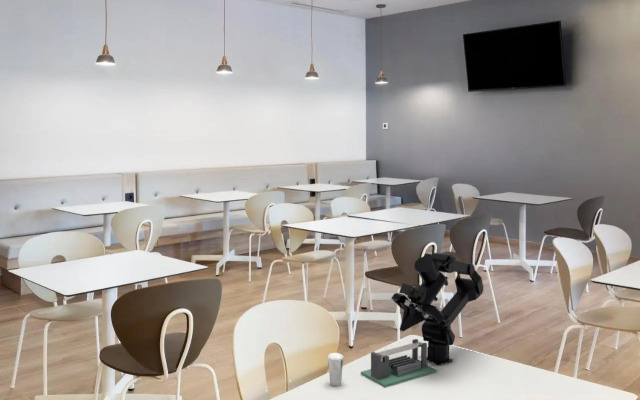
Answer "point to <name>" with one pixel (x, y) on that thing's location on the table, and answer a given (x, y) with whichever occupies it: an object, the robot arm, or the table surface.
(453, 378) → the table surface
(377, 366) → the lug block
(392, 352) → the metal bar
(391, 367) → the heatsink
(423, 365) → the bracket
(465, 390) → the table surface
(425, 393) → the table surface
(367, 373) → the board
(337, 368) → the milkshake
